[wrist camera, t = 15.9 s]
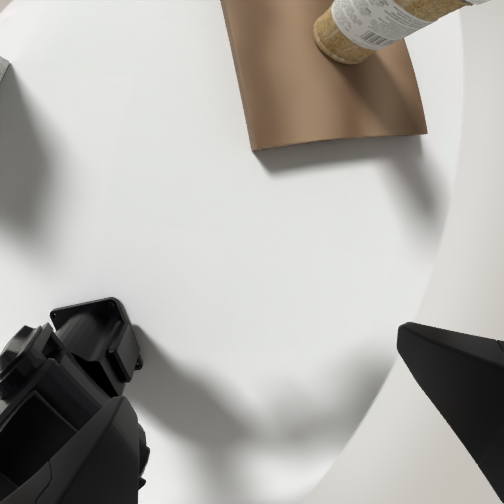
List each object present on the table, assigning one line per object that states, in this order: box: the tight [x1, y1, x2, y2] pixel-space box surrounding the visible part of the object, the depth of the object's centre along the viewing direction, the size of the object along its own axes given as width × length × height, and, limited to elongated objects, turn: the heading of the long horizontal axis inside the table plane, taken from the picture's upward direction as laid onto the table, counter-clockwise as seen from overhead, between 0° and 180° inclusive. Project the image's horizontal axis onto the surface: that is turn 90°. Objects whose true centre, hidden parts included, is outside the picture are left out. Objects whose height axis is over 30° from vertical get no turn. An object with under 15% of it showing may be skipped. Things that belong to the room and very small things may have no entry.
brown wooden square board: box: [220, 0, 428, 151], centre depth 17 cm, size 14×14×2 cm
